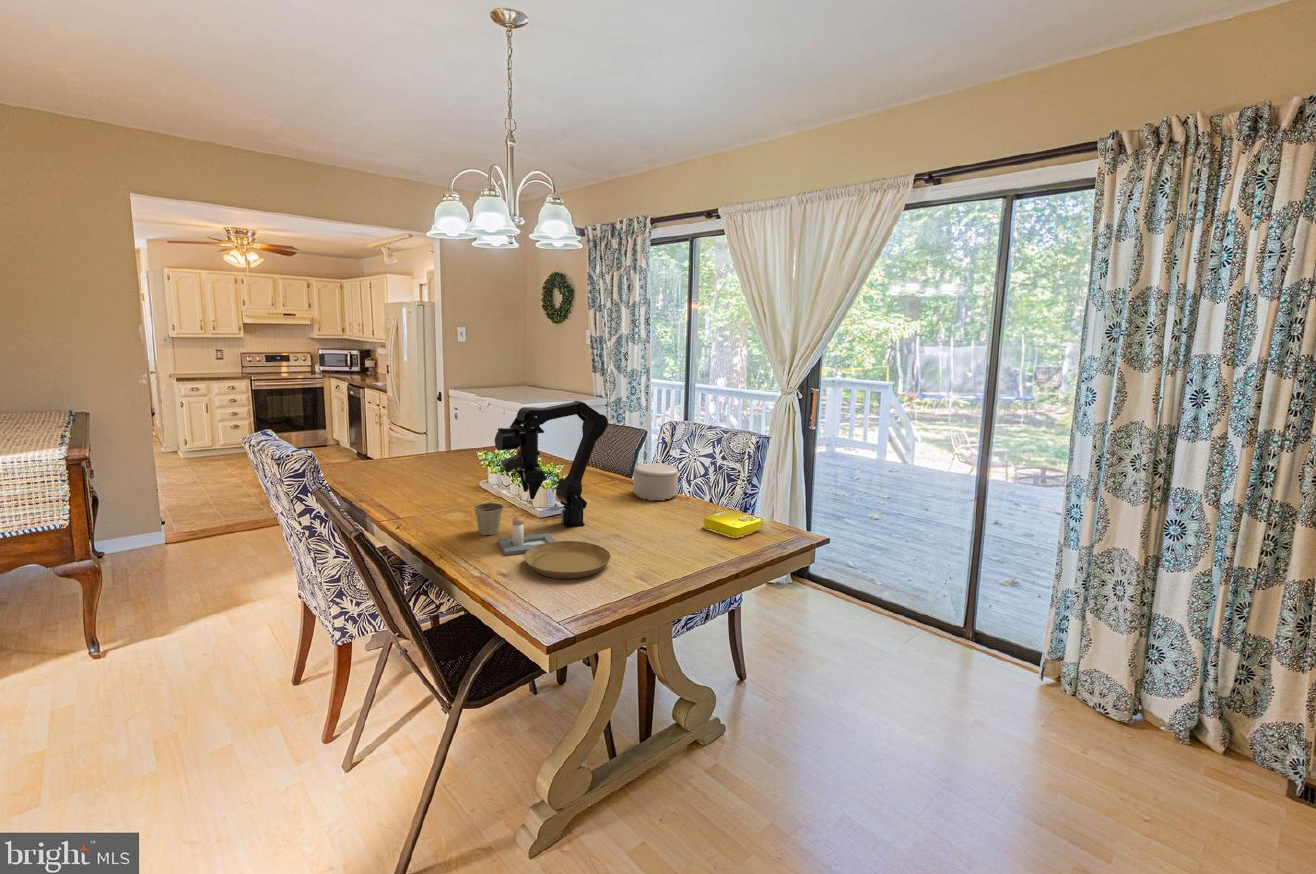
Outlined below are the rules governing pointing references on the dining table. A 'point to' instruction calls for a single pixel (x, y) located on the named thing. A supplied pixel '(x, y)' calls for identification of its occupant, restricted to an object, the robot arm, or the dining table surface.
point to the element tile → (732, 523)
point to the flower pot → (488, 517)
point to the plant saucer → (567, 559)
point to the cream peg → (517, 531)
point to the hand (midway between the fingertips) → (528, 495)
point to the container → (655, 481)
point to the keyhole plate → (528, 543)
